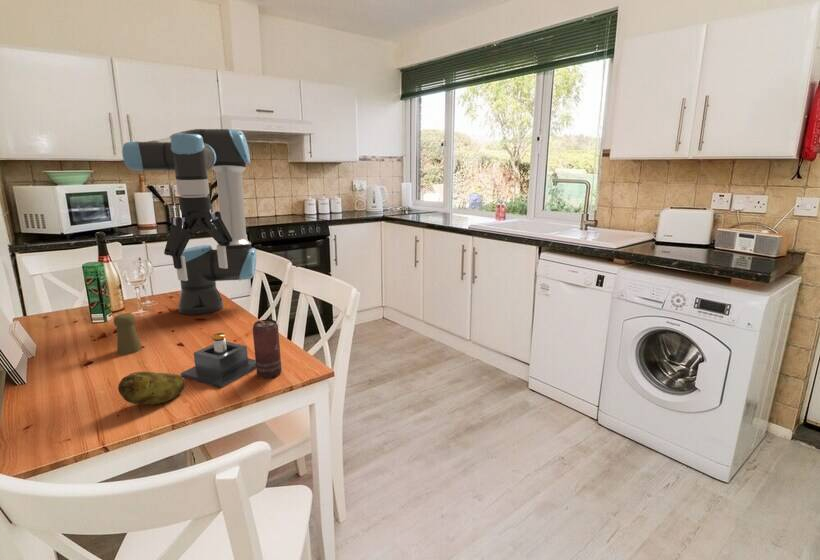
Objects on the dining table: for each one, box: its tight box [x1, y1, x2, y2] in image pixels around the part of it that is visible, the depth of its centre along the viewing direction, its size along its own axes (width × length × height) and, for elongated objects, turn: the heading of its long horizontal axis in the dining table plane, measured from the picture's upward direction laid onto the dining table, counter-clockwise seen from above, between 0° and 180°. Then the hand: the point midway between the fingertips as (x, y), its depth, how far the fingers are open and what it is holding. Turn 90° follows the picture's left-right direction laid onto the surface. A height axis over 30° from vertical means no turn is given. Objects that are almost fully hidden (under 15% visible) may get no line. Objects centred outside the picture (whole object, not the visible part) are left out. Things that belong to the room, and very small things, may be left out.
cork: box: [113, 312, 143, 355], centre depth 127 cm, size 6×6×11 cm
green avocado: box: [117, 370, 186, 405], centre depth 100 cm, size 8×13×8 cm, turn 122°
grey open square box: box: [193, 341, 249, 378], centre depth 115 cm, size 9×9×5 cm
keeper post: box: [180, 332, 256, 389], centre depth 115 cm, size 14×14×10 cm
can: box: [252, 319, 282, 379], centre depth 113 cm, size 6×6×14 cm
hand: (204, 273), depth 122 cm, fingers open, 13 cm apart
